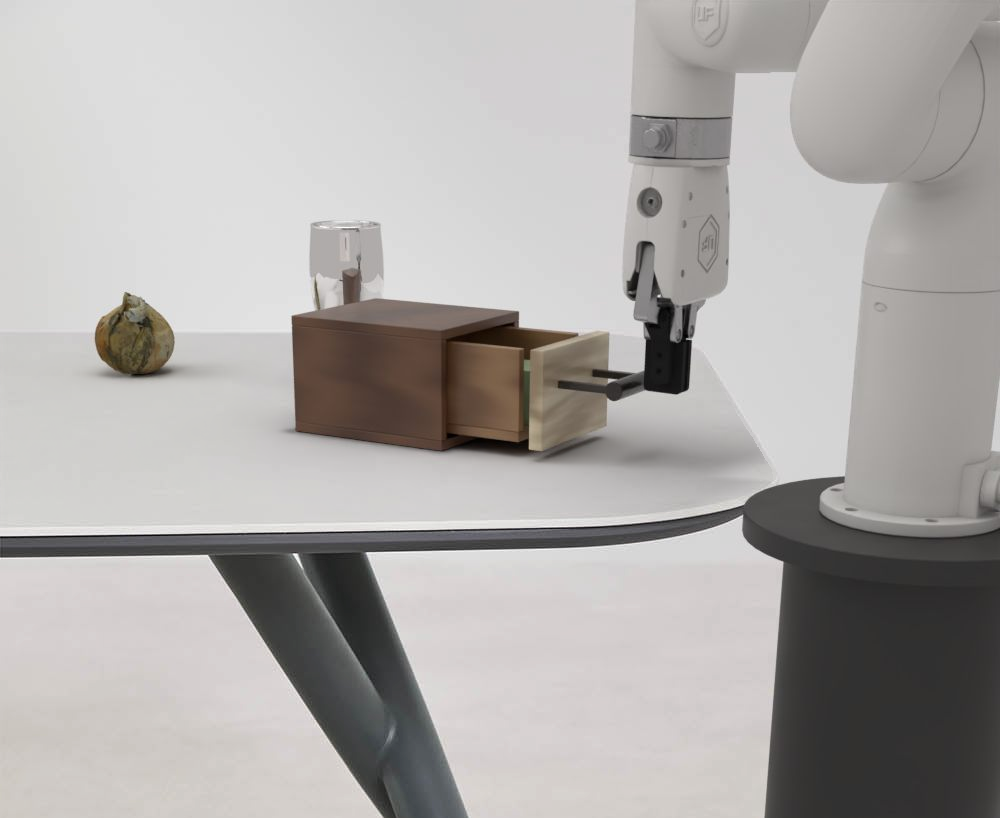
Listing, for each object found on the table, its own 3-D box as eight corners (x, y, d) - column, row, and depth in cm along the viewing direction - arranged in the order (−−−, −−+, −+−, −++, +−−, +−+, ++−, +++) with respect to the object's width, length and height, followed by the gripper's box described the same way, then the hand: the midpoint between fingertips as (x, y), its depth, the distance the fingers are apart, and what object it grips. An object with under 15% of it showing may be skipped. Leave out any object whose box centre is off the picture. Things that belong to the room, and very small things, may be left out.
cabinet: (518, 424, 149) (519, 311, 145) (441, 451, 138) (441, 330, 135) (377, 406, 155) (375, 298, 152) (295, 431, 145) (290, 315, 141)
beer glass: (324, 395, 160) (319, 228, 154) (304, 382, 166) (299, 221, 160) (395, 390, 162) (393, 226, 157) (373, 377, 168) (370, 219, 163)
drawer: (669, 433, 141) (673, 337, 138) (607, 460, 132) (610, 358, 129) (468, 409, 150) (469, 318, 147) (397, 432, 141) (396, 335, 138)
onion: (194, 371, 171) (189, 289, 168) (132, 382, 165) (125, 297, 162) (144, 362, 175) (139, 282, 172) (82, 373, 170) (75, 290, 166)
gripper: (684, 150, 119) (669, 413, 126) (765, 140, 131) (747, 381, 138) (588, 145, 122) (579, 401, 130) (675, 136, 134) (663, 371, 142)
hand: (666, 390), depth 134 cm, fingers closed
